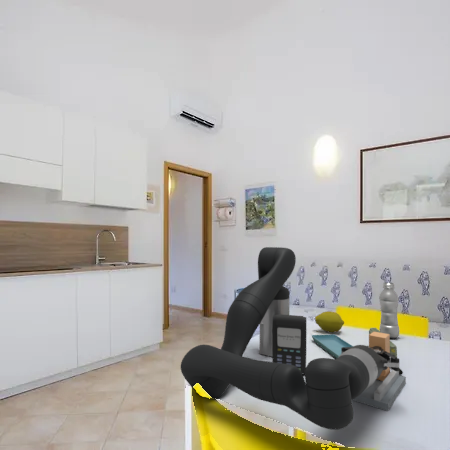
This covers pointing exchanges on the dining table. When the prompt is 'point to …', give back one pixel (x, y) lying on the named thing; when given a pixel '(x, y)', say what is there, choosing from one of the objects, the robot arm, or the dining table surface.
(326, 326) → the lemon
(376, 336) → the switch tab
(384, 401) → the grey slotted base
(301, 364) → the card reader
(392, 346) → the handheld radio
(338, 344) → the rectangular tray
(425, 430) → the dining table surface
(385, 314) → the plastic bottle
